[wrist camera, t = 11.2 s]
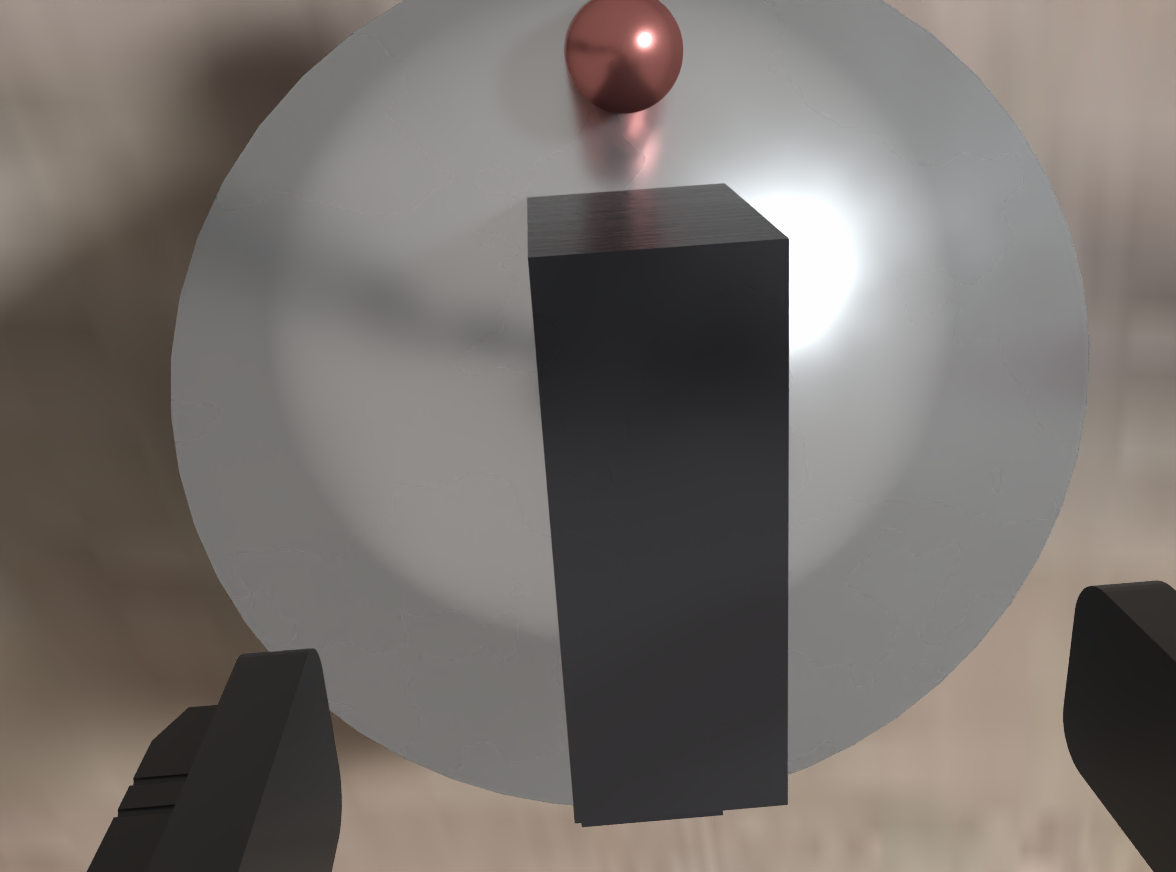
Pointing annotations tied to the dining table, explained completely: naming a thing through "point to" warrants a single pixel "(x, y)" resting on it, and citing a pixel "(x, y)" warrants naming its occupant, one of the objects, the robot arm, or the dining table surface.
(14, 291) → the dining table surface
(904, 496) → the steel lid
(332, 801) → the robot arm
